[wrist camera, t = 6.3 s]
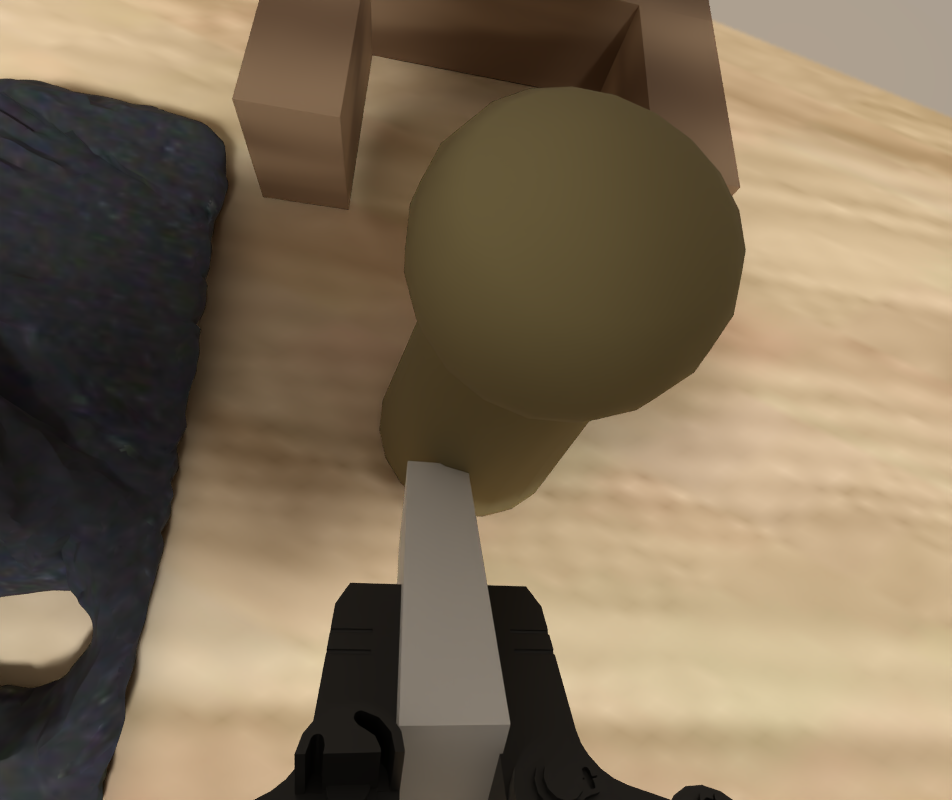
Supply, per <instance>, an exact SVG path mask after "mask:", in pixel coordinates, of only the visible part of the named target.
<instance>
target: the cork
mask: <svg viewBox="0 0 952 800" xmlns="http://www.w3.org/2000/svg"><path fill="white" fill-rule="evenodd" d="M745 250H746V249H745V243H744V237H743V231H742V225H741V219H740V213H739V209H738V207H737V205H736V203H735V201H734V199H733V197H732V195H731V193H730V191H729V189H728V187H727V185H726V183H725V181H724V179H723V177H722V175H721V173H720V172H719V170H718V169H717V168H716V167H715V166H714V165H713V163H712V162H711V161H710V160H709V159H708V158H707V157H706V155H705V154H704V153H703V152H702V151H701V150H700V148H699V147H698V146H697V145H696V144H695V143H694V141H693V140H692V139H690V138H689V137H688V136H686V135H685V134H684V133H682V132H681V131H680V130H678V129H677V128H675V127H674V126H673V125H671V124H670V123H669V122H667V121H666V120H665V119H663V118H662V117H660V116H659V115H658V114H656V113H654V112H652V111H650V110H648V109H645V108H643V107H641V106H639V105H636V104H634V103H632V102H630V101H627V100H625V99H623V98H621V97H619V96H616V95H613V94H608V93H603V92H598V91H593V90H588V89H583V88H578V87H573V86H570V87H550V88H530V89H527V90H524V91H521V92H519V93H516V94H513V95H510V96H507V97H504V98H502V99H499V100H496V101H493V102H491V103H490V104H489V105H488V106H486V107H485V108H484V109H483V110H482V111H480V112H479V113H478V114H477V115H475V116H474V117H473V118H472V119H470V120H469V121H468V122H467V123H466V124H464V125H463V126H462V127H461V128H459V129H458V130H457V131H456V132H454V133H453V134H452V135H451V136H450V137H448V138H447V139H446V140H445V141H443V142H442V143H441V145H440V147H439V148H438V150H437V152H436V154H435V156H434V158H433V159H432V161H431V163H430V165H429V167H428V168H427V170H426V172H425V174H424V176H423V178H422V179H421V181H420V184H419V186H418V188H417V190H416V192H415V194H414V197H413V199H412V201H411V203H410V209H409V218H408V227H407V237H406V246H405V264H404V273H405V277H406V281H407V285H408V289H409V292H410V296H411V300H412V304H413V308H414V312H415V315H416V319H417V323H416V325H415V328H414V330H413V332H412V335H411V337H410V339H409V342H408V344H407V346H406V349H405V351H404V353H403V355H402V358H401V360H400V362H399V365H398V367H397V369H396V372H395V374H394V376H393V379H392V381H391V383H390V385H389V388H388V390H387V392H386V395H385V397H384V399H383V402H382V411H381V420H380V434H381V438H382V443H383V447H384V452H385V456H386V459H387V460H388V462H389V464H390V465H391V467H392V469H393V470H394V472H395V474H396V475H397V477H398V479H399V480H400V482H401V483H402V484H403V485H404V486H405V483H406V473H407V463H408V461H417V462H432V463H440V464H442V465H444V466H446V467H449V468H453V469H456V470H460V471H463V472H466V473H469V478H470V484H471V490H472V496H473V502H474V508H475V514H476V516H486V515H490V514H494V513H498V512H501V511H505V510H509V509H512V508H513V507H515V506H516V505H518V504H519V503H521V502H522V501H524V500H525V499H526V498H528V497H529V496H531V495H532V494H534V493H535V492H536V490H537V489H538V488H539V487H540V485H541V484H542V483H543V481H544V480H545V479H546V477H547V476H548V475H549V473H550V472H551V471H552V469H553V468H554V467H555V465H556V464H557V463H558V461H559V460H560V459H561V457H562V456H563V455H564V453H565V452H566V451H567V450H568V448H569V447H570V446H571V444H572V443H573V442H574V440H575V439H576V438H577V436H578V435H579V434H580V432H581V431H582V430H583V428H584V427H585V426H586V424H587V423H588V422H589V421H591V420H595V419H600V418H604V417H608V416H613V415H617V414H621V413H626V412H630V411H634V410H637V409H638V408H640V407H642V406H643V405H645V404H647V403H648V402H650V401H651V400H653V399H655V398H656V397H658V396H659V395H661V394H662V393H664V392H665V391H667V390H668V389H670V388H671V387H673V386H674V385H676V384H677V383H679V382H680V381H682V380H683V379H685V378H686V377H688V376H689V375H691V374H692V373H694V372H695V370H696V369H697V367H698V366H699V365H700V363H701V362H702V361H703V359H704V358H705V356H706V355H707V354H708V352H709V351H710V349H711V348H712V346H713V345H714V343H715V342H716V340H717V339H718V337H719V336H720V334H721V333H722V331H723V330H724V328H725V327H726V325H727V324H728V323H729V321H730V320H731V318H732V317H733V315H734V310H735V305H736V300H737V295H738V290H739V285H740V280H741V275H742V269H743V263H744V256H745Z"/></svg>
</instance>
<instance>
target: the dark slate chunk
mask: <svg viewBox="0 0 952 800" xmlns="http://www.w3.org/2000/svg"><path fill="white" fill-rule="evenodd" d="M227 188H228V181H227V178H226V151H225V146H224V143H223V141H222V140H221V139H220V138H219V137H218V136H217V135H216V134H215V133H214V132H213V131H212V130H211V129H210V128H209V127H208V126H207V125H205V124H203V123H201V122H199V121H196V120H193V119H190V118H186V117H183V116H180V115H176V114H173V113H169V112H166V111H164V110H161V109H158V108H156V107H153V106H148V105H136V104H131V103H127V102H124V101H121V100H117V99H113V98H109V97H104V96H97V95H90V94H84V93H79V92H73V91H70V90H67V89H65V88H62V87H59V86H55V85H51V84H48V83H45V82H41V81H36V80H15V79H0V597H4V596H11V595H21V594H28V593H35V592H42V591H51V590H63V591H70V590H71V592H72V593H73V594H74V595H75V596H76V597H77V599H78V602H79V604H80V605H81V606H82V607H83V608H84V609H85V610H86V612H87V613H88V614H89V616H90V618H91V620H92V624H93V637H92V641H91V643H90V645H89V647H88V648H87V650H86V651H85V652H84V653H83V655H82V656H81V657H80V658H79V659H78V660H77V662H76V663H75V664H74V665H73V666H72V668H71V669H70V671H69V672H68V673H67V674H66V675H65V676H64V677H62V678H61V679H59V680H57V681H54V682H51V683H49V684H46V685H43V686H40V687H35V688H23V687H18V686H13V685H5V686H2V687H0V800H103V781H104V780H105V777H106V773H107V766H108V764H109V762H110V760H111V758H112V756H113V754H114V751H115V749H116V746H117V743H118V740H119V737H120V734H121V731H122V728H123V724H124V720H125V691H126V687H127V684H128V681H129V679H130V676H131V673H132V670H133V667H134V663H135V659H136V652H137V645H138V641H139V637H140V634H141V631H142V628H143V625H144V623H145V619H146V614H147V609H148V603H149V598H150V594H151V590H152V587H153V584H154V580H155V577H156V573H157V569H158V565H159V562H160V559H161V556H162V553H163V548H164V542H163V537H162V535H161V532H162V530H163V528H164V526H165V525H166V523H167V521H168V519H169V517H170V514H171V501H172V498H173V489H172V486H171V480H172V479H173V477H174V475H175V473H176V472H177V470H178V468H179V465H178V455H177V446H178V443H179V441H180V439H181V437H182V435H183V433H184V431H185V430H186V428H187V423H186V417H185V411H186V406H187V400H188V395H189V391H190V388H191V385H192V382H193V379H194V376H195V373H196V368H197V361H198V357H199V335H200V330H201V329H200V328H199V326H198V325H196V324H197V323H198V321H199V320H200V318H201V316H202V314H203V312H204V309H205V304H206V290H207V283H206V277H207V274H208V271H209V266H210V258H211V253H212V245H211V239H212V235H213V229H214V222H215V220H216V218H217V216H218V214H219V212H220V210H221V208H222V206H223V202H224V198H225V195H226V192H227Z"/></svg>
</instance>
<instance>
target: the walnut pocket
mask: <svg viewBox="0 0 952 800" xmlns="http://www.w3.org/2000/svg"><path fill="white" fill-rule="evenodd" d="M372 55H376V56H381V57H386V58H391V59H397V60H402V61H407V62H412V63H417V64H422V65H428V66H433V67H438V68H443V69H448V70H453V71H459V72H464V73H469V74H474V75H479V76H484V77H490V78H495V79H500V80H505V81H510V82H515V83H521V84H526V85H531V86H536V87H541V88H550V87H570V86H573V87H578V88H583V89H588V90H593V91H598V92H603V93H608V94H613V95H616V96H619V97H621V98H623V99H625V100H627V101H630V102H632V103H634V104H636V105H639V106H641V107H643V108H645V109H648V110H650V111H652V112H654V113H656V114H658V115H659V116H660V117H662V118H663V119H665V120H666V121H667V122H669V123H670V124H671V125H673V126H674V127H675V128H677V129H678V130H680V131H681V132H682V133H684V134H685V135H686V136H688V137H689V138H690V139H692V140H693V141H694V143H695V144H696V145H697V146H698V147H699V148H700V150H701V151H702V152H703V153H704V154H705V155H706V157H707V158H708V159H709V160H710V161H711V162H712V163H713V165H714V166H715V167H716V168H717V169H718V170H719V172H720V173H721V175H722V177H723V179H724V181H725V183H726V185H727V187H728V189H729V191H730V193H731V195H733V194H734V193H735V192H736V191H737V190H738V189H739V188H740V183H739V177H738V171H737V166H736V160H735V154H734V148H733V142H732V136H731V130H730V124H729V118H728V112H727V106H726V101H725V95H724V89H723V83H722V77H721V71H720V65H719V59H718V53H717V47H716V42H715V36H714V30H713V24H712V18H711V12H710V6H709V0H259V3H258V7H257V10H256V14H255V18H254V21H253V25H252V29H251V32H250V36H249V40H248V43H247V47H246V51H245V54H244V58H243V62H242V65H241V69H240V73H239V76H238V80H237V84H236V87H235V91H234V95H233V98H232V99H233V103H234V106H235V109H236V112H237V115H238V119H239V122H240V125H241V128H242V131H243V134H244V138H245V141H246V144H247V147H248V150H249V153H250V157H251V160H252V163H253V166H254V169H255V172H256V176H257V179H258V182H259V185H260V188H261V192H262V195H263V197H268V198H275V199H282V200H289V201H295V202H302V203H309V204H316V205H322V206H329V207H336V208H343V209H349V203H350V196H351V190H352V183H353V177H354V170H355V164H356V157H357V151H358V144H359V138H360V131H361V125H362V118H363V112H364V105H365V99H366V92H367V86H368V79H369V73H370V66H371V60H372Z"/></svg>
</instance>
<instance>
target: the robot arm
mask: <svg viewBox="0 0 952 800" xmlns="http://www.w3.org/2000/svg"><path fill="white" fill-rule="evenodd" d="M255 800H670V799H667V798H664V797H661V796H658V795H655V794H652V793H649V792H646V791H643V790H641V789H638V788H635V787H632V786H629V785H627V784H625V783H622V782H620V781H618V780H616V779H614V778H613V777H611V776H610V775H609V774H607V773H606V772H605V771H603V770H602V769H601V768H600V767H599V766H598V765H597V764H596V763H595V762H594V760H593V759H592V758H591V757H590V756H589V755H588V753H587V752H586V750H585V749H584V747H583V746H582V744H581V742H580V739H579V737H578V734H577V732H576V729H575V725H574V722H573V718H572V714H571V711H570V707H569V704H568V700H567V697H566V693H565V689H564V686H563V682H562V679H561V675H560V672H559V668H558V664H557V661H556V657H555V655H554V654H553V647H552V643H551V640H550V636H549V635H548V629H547V625H546V622H545V618H544V615H543V611H542V607H541V606H540V604H539V603H538V602H537V600H536V599H535V598H534V596H533V595H532V594H531V593H530V591H529V590H528V589H527V587H524V586H491V585H487V580H486V574H485V568H484V562H483V556H482V550H481V544H480V538H479V532H478V526H477V520H476V514H475V508H474V502H473V496H472V490H471V484H470V478H469V473H466V472H463V471H460V470H456V469H453V468H449V467H446V466H444V465H442V464H440V463H432V462H417V461H408V463H407V473H406V483H405V492H404V502H403V512H402V522H401V531H400V541H399V555H398V576H397V584H371V583H350V584H349V585H348V587H347V588H346V589H345V591H344V592H343V594H342V595H341V596H340V598H339V599H338V601H337V602H336V603H335V608H334V614H333V619H332V624H331V631H330V635H329V640H328V646H327V653H326V656H325V662H324V667H323V672H322V678H321V683H320V688H319V694H318V699H317V704H316V710H315V715H314V720H313V722H312V723H311V724H310V726H309V727H308V728H307V729H306V730H305V731H304V732H303V734H302V737H301V739H300V742H299V744H298V747H297V749H296V752H295V769H294V770H293V772H292V773H291V774H290V775H289V776H288V777H287V779H286V780H284V781H283V782H282V783H281V784H279V785H278V786H277V787H276V788H274V789H273V790H272V791H270V792H268V793H266V794H264V795H262V796H260V797H259V798H257V799H255ZM672 800H732V799H731V798H729V797H728V796H726V795H725V794H724V793H722V792H721V791H718V790H715V789H712V788H709V787H706V786H703V785H696V786H685V787H684V788H683V789H682V790H680V791H679V792H678V793H676V794H675V795H674V796H673V798H672Z"/></svg>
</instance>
